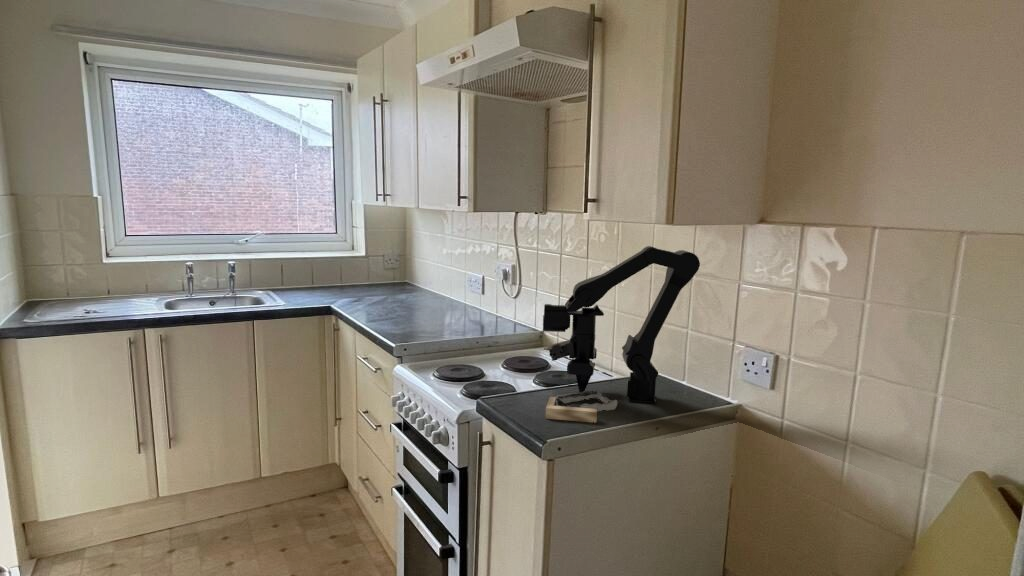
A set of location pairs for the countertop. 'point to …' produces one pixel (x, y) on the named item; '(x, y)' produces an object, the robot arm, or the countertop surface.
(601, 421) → the countertop surface
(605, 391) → the countertop surface
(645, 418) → the countertop surface
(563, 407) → the oak fence
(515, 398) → the countertop surface
